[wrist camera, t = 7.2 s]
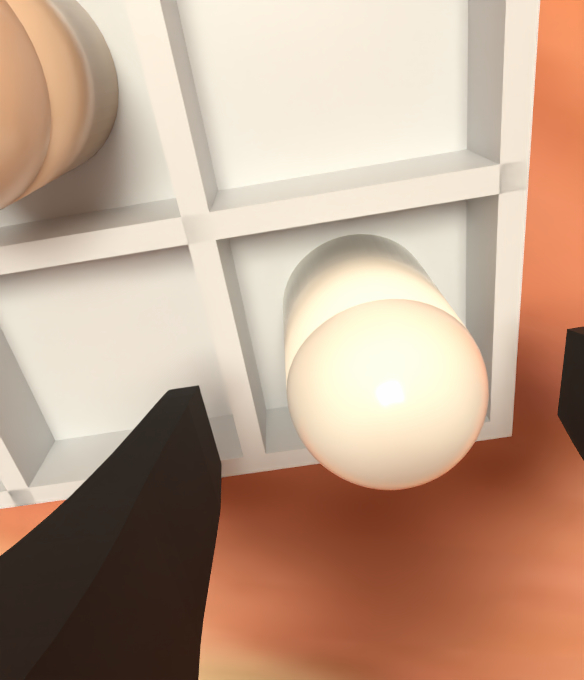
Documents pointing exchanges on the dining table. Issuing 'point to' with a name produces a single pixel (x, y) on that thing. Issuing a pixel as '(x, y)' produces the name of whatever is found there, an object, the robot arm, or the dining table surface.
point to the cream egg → (379, 365)
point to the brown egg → (51, 93)
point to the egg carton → (258, 215)
